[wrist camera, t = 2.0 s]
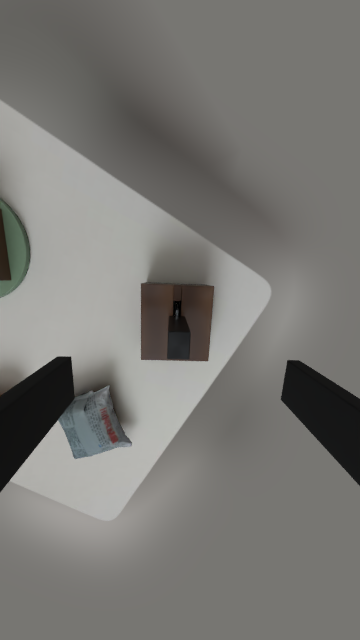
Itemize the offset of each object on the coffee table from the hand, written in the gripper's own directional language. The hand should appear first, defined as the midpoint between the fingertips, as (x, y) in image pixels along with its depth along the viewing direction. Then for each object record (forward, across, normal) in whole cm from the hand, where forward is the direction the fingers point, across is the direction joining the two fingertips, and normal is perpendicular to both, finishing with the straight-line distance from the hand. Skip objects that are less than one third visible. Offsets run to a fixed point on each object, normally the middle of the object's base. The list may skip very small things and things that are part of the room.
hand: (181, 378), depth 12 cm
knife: (+18, 0, 0) cm, 18 cm away
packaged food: (+18, -12, -17) cm, 28 cm away
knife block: (+18, 0, 0) cm, 18 cm away
